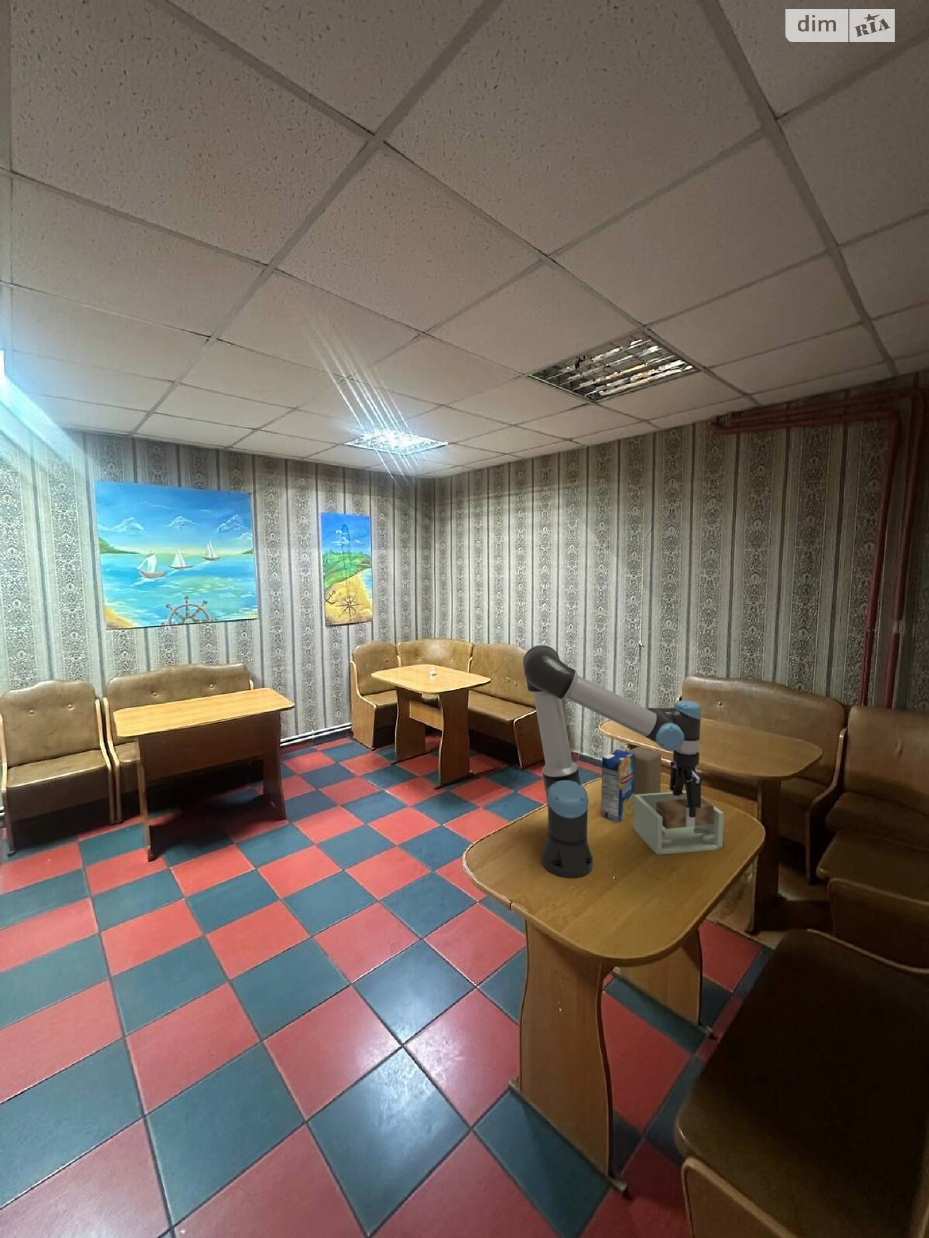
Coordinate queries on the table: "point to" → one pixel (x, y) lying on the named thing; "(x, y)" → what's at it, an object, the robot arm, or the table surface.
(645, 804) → the open storage box
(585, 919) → the table surface
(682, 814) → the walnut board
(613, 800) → the beverage box
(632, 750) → the wooden block
